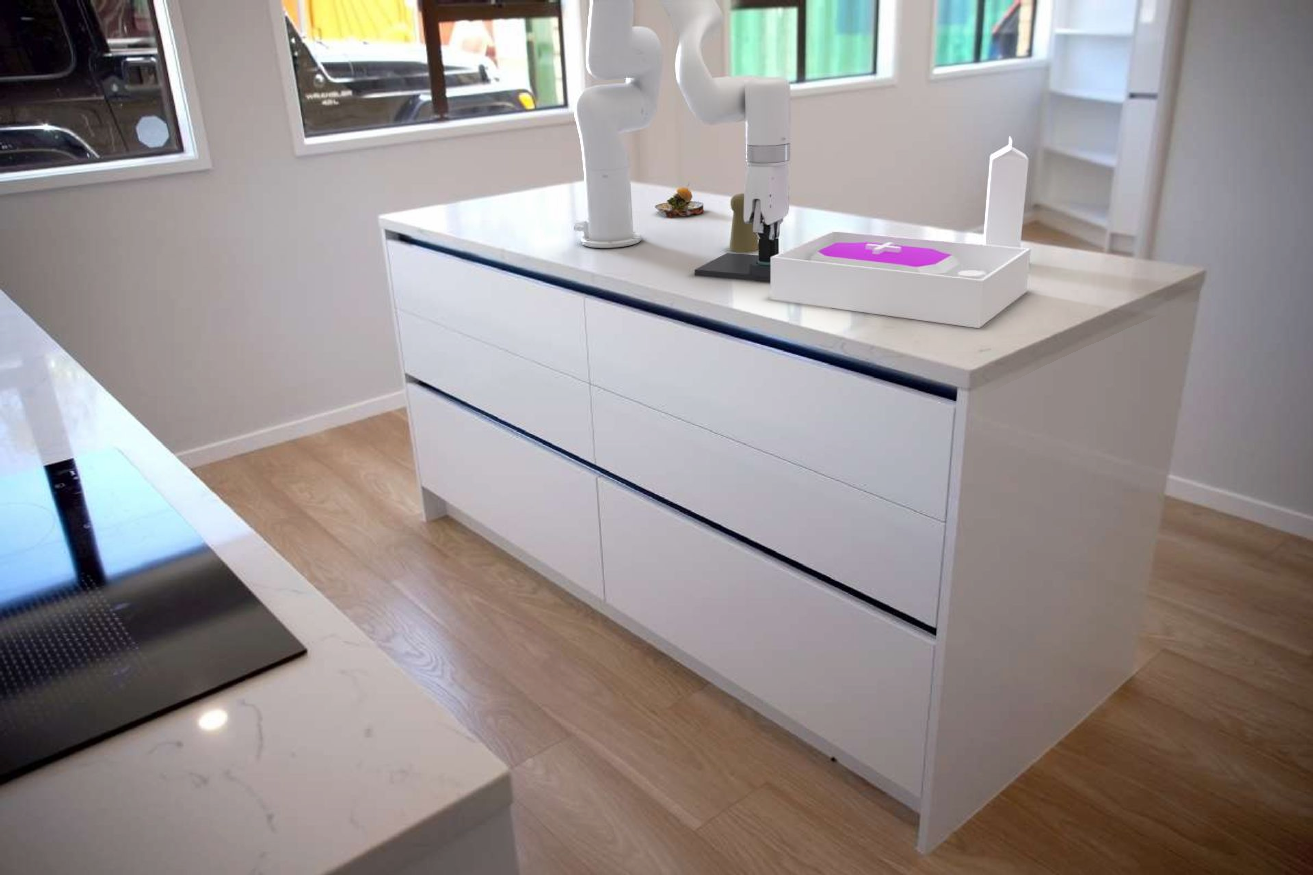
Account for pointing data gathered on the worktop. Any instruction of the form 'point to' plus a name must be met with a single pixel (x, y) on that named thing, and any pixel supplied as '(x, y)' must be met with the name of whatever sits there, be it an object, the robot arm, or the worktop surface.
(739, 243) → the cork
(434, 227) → the worktop surface
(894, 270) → the white tray with pad
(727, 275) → the scale
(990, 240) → the milk
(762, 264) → the button
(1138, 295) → the worktop surface
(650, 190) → the worktop surface
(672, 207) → the multicoloured piece
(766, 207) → the robot arm
